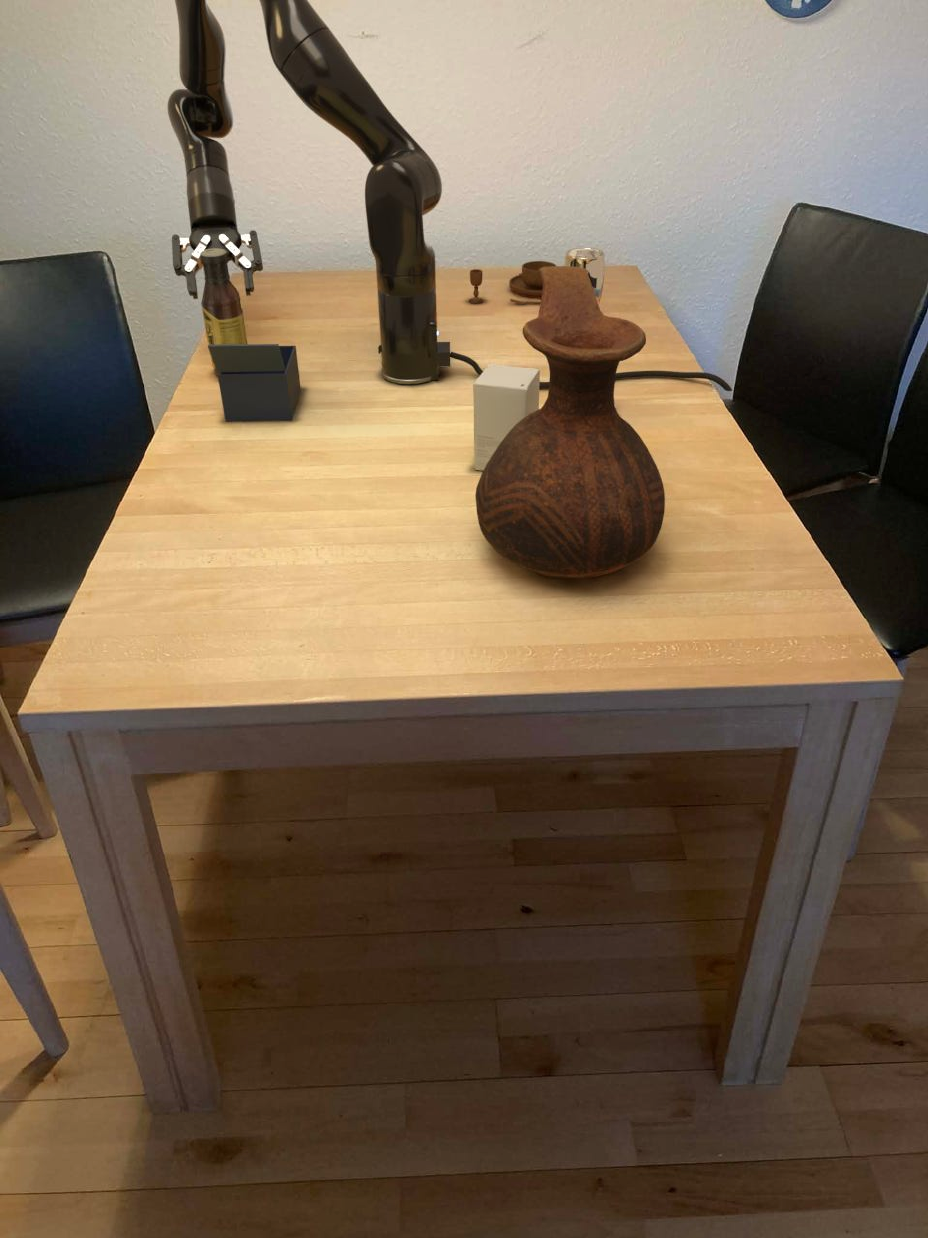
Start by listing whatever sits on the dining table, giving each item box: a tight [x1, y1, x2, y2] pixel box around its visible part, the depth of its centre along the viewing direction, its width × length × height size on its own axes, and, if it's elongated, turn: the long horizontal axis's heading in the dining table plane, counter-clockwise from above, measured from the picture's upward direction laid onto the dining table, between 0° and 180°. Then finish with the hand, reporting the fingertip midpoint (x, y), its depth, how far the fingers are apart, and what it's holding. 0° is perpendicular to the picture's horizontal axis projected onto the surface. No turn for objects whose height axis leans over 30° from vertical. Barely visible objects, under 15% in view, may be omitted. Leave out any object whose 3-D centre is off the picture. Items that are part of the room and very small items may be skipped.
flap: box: [207, 343, 285, 372], centre depth 133 cm, size 10×6×1 cm
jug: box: [475, 265, 666, 579], centre depth 102 cm, size 22×22×30 cm
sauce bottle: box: [200, 248, 249, 377], centre depth 150 cm, size 6×6×20 cm
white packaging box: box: [472, 363, 541, 472], centre depth 126 cm, size 7×7×13 cm
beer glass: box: [564, 247, 605, 307], centre depth 163 cm, size 7×7×15 cm
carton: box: [217, 345, 302, 422], centre depth 143 cm, size 10×12×7 cm
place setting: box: [468, 260, 557, 305], centre depth 188 cm, size 18×20×6 cm
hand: (222, 294), depth 153 cm, fingers open, 8 cm apart
